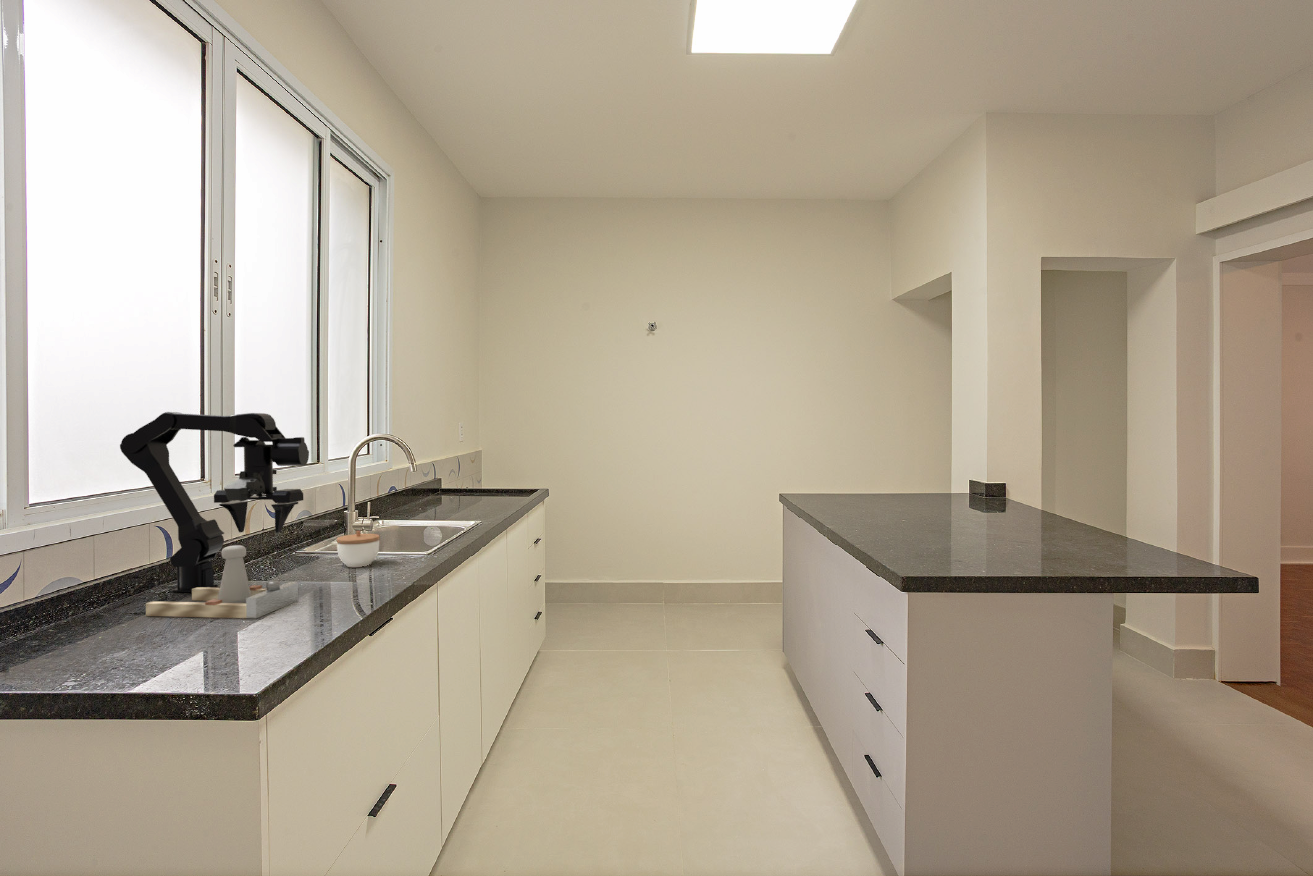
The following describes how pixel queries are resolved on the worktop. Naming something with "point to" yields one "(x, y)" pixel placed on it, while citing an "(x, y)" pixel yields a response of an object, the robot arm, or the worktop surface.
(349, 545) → the lidded jar
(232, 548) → the salt shaker
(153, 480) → the robot arm
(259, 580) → the worktop surface
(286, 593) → the wooden tray
